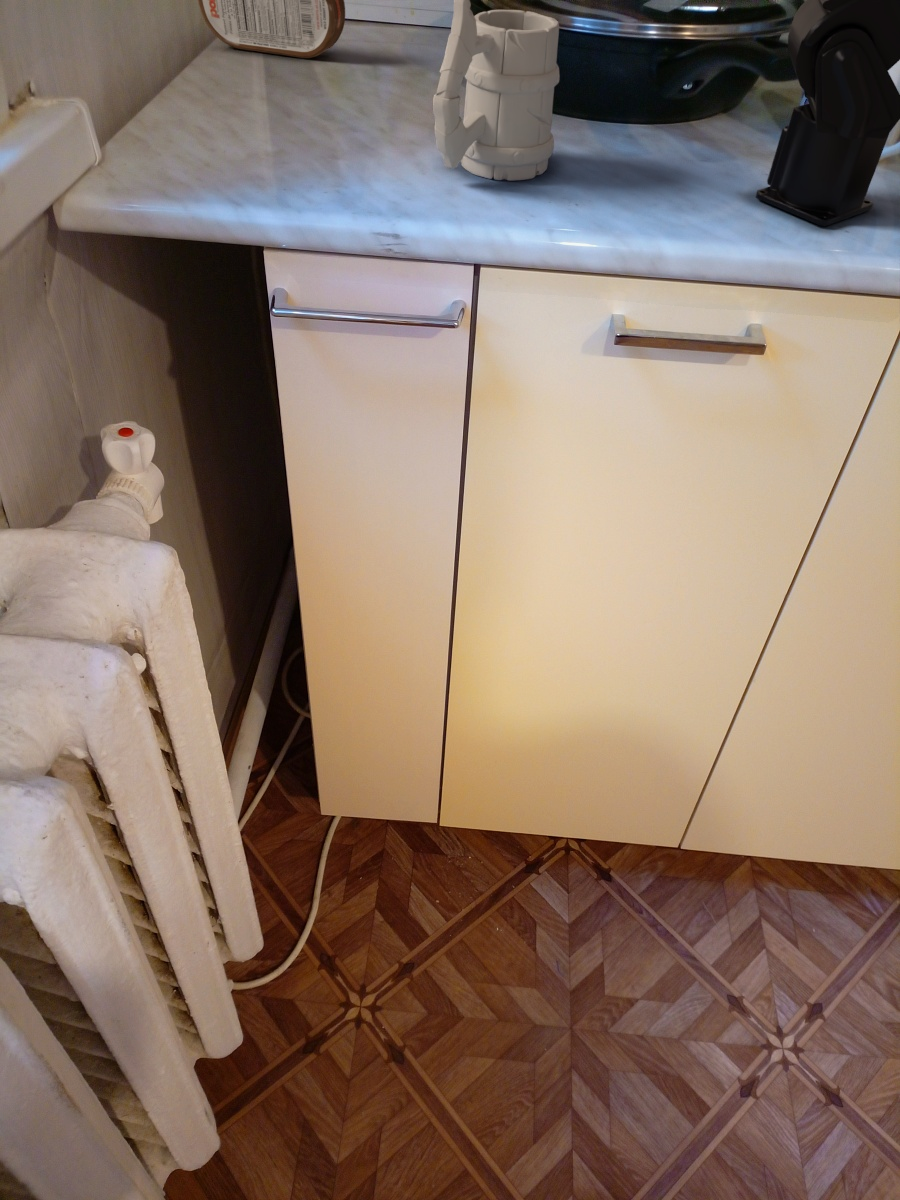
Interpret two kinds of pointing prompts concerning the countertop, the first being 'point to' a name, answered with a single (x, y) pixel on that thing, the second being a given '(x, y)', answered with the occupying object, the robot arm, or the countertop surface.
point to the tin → (276, 24)
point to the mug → (498, 93)
